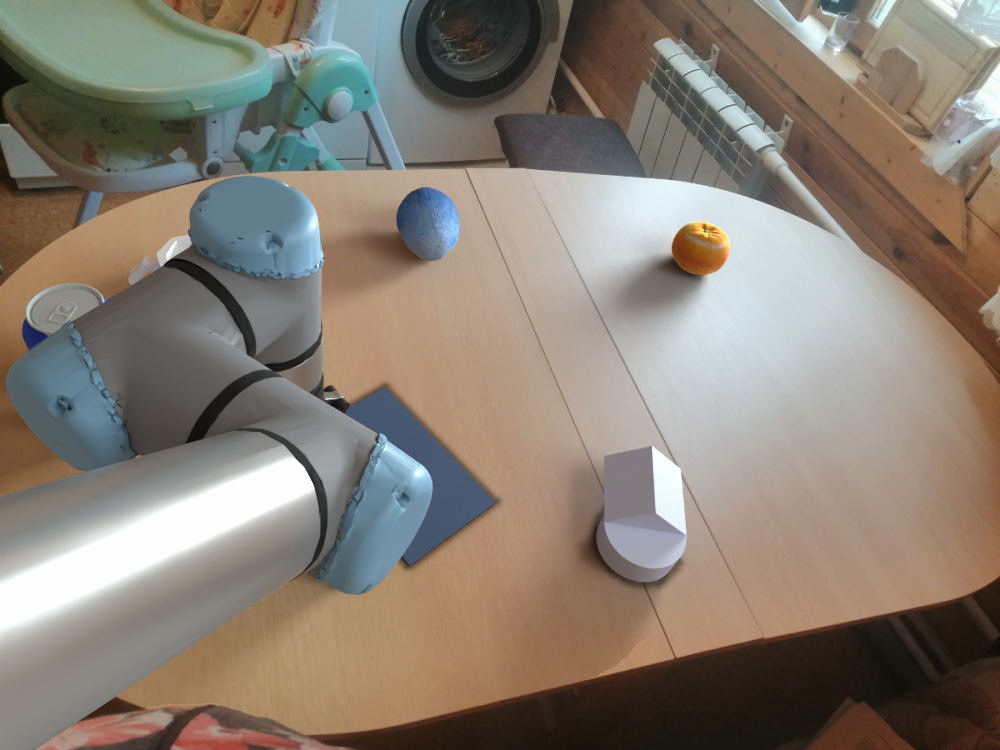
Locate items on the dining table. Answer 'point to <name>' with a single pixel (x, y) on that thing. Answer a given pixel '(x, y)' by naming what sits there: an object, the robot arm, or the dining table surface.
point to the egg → (428, 223)
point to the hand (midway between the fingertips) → (287, 525)
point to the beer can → (57, 310)
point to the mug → (159, 258)
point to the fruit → (700, 248)
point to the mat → (451, 483)
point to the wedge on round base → (642, 514)
